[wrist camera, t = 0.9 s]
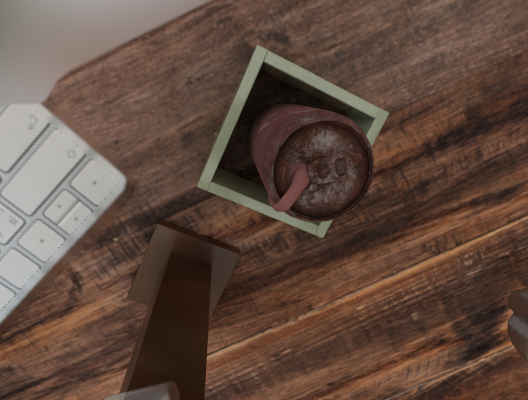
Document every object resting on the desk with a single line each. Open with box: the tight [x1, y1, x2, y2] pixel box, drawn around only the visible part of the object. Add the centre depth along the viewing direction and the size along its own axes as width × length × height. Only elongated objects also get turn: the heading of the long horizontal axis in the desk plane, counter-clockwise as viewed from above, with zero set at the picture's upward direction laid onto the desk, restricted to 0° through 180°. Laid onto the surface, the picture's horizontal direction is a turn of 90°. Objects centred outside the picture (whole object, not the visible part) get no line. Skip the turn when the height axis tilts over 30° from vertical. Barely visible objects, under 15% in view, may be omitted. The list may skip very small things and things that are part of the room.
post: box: [120, 219, 241, 400], centre depth 22 cm, size 8×8×27 cm
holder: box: [197, 45, 389, 238], centre depth 29 cm, size 11×11×6 cm
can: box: [247, 103, 374, 222], centre depth 25 cm, size 6×6×14 cm
